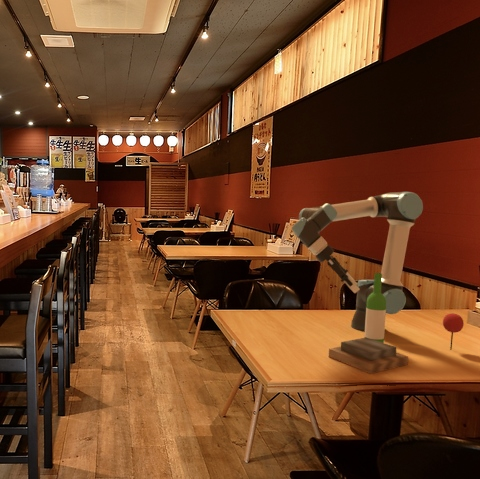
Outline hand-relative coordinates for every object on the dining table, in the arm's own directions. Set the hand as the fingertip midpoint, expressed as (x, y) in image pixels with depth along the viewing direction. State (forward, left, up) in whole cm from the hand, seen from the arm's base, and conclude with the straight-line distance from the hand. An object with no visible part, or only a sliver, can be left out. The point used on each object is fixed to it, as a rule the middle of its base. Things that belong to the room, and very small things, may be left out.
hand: (356, 288), depth 191 cm
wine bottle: (-6, +6, -23) cm, 25 cm away
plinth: (+12, +18, -23) cm, 31 cm away
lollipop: (-31, +25, -23) cm, 46 cm away
